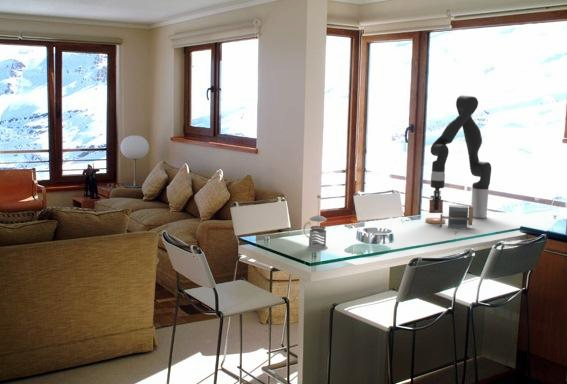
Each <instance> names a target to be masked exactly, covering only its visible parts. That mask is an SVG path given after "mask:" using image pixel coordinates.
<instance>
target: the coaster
mask: <svg viewBox="0 0 567 384" xmlns="http://www.w3.org/2000/svg"><path fill="white" fill-rule="evenodd" d="M424 222H425V223H428V224H431V223H432V224H431V225H440V217H427V218H425V221H424ZM445 223H446V219H442V225H443V224H445Z"/></svg>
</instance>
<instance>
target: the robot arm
mask: <svg viewBox="0 0 567 384" xmlns="http://www.w3.org/2000/svg"><path fill="white" fill-rule="evenodd" d="M478 106H479V100H478V98H477V97H475V96H473V95H459V96H458V97H457V98H456V102H455V107H456V110H457V113H458V116H457V117H456V118H455V119H453V120H452V121H451V122H450V123H448V124H447V126H446V127H445V128H444V130H443V131H442V133H441V135H440V136H439V137H438V138H437V139H436V140H435V141H434V142H433V143H432V145H431V147H430V153H431V156H434V157H436V159H435V160H433V161H432V165H431V173H430V188H432V189H434V190H433V196H434V210H438V203H439V199H440V196H441V192H442V191H441V189H444V188H445V178H446V173H445V171H446V163H447V160H448V156H449V148H448V145H449V144H452V142H453V141H454V139H455V137H456V136H457V134H458V133H459V132H460V130H461V128H462V130H463V135H464V141H465V144H466V149H467V153H468V160H469V171H470V173H471V175H472V176H474V177H478V178H479V180H478V181H476V182H473V183H472V188H471V203H470V205H471V206H473V218H476V219H486V218H487V216H488V215H487V214H488V201H489V189H490V188H489V187H490V183H491V175H492V165H491V163H490V162H489V161H483V160H482V161H480V160H479V150H480V149H481V147H482V143H483V137H482V133H481V129H480V128H479V126H478V125H477V123H476V122H475V121H474V119H473V117H472V115H473V114H474V113H475V111H476V110H477V109H478ZM435 199H438V201H436V200H435Z"/></svg>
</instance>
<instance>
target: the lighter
mask: <svg viewBox="0 0 567 384" xmlns="http://www.w3.org/2000/svg"><path fill="white" fill-rule="evenodd" d="M431 198H432V199H431ZM428 200H429V201H428V202H429V211H428V213H429V214H443V213H444V209H443V208H444V204H443V203H444V200H443V199H442V196H441V195H440V199H439V203H438V210H434V195H430V199H428ZM435 200H436V201H438V199H435Z"/></svg>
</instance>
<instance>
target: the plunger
mask: <svg viewBox="0 0 567 384" xmlns="http://www.w3.org/2000/svg"><path fill="white" fill-rule="evenodd" d="M439 218H440V224H439V226H440V227H442V226H443V224H442V219H445V220H448V219H449V215H443V213H440V217H439ZM450 219H458V220H466V219H467V217H450ZM473 219H474V217H473V206H471V204H470V205H468V222H467V226H473V222H474V221H473Z"/></svg>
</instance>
